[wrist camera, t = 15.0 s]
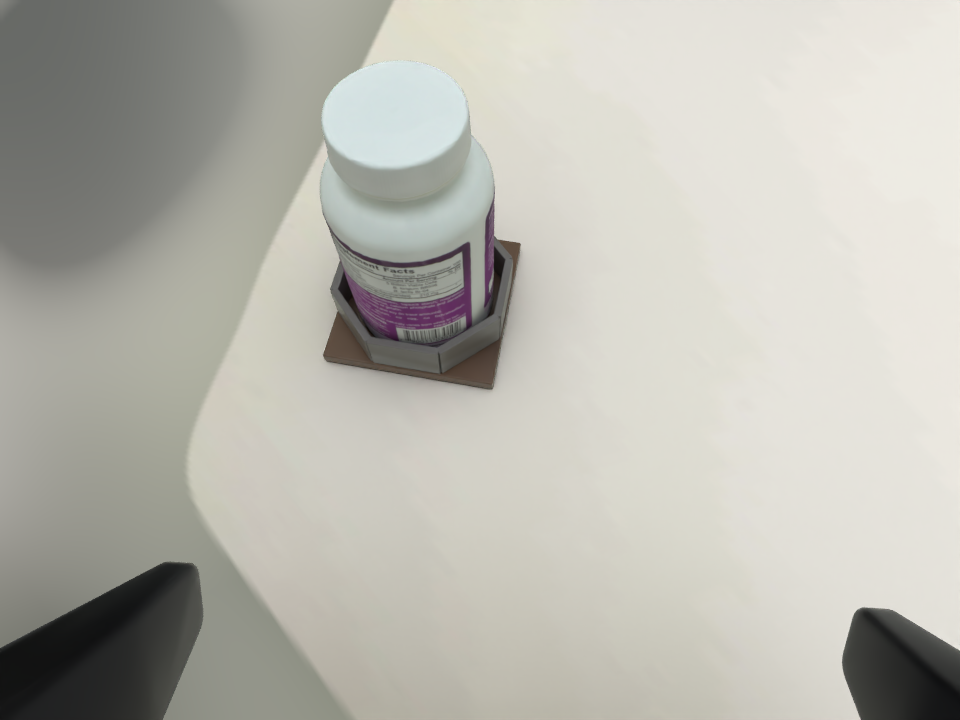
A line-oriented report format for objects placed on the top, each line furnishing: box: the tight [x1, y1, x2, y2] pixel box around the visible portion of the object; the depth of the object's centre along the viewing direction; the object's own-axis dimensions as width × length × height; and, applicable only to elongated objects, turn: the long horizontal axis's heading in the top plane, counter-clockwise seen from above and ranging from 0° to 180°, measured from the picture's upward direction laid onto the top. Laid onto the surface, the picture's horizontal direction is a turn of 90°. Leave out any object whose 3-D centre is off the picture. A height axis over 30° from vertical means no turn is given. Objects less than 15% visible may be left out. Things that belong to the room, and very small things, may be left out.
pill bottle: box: [320, 61, 495, 348], centre depth 22 cm, size 5×5×10 cm
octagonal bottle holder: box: [323, 236, 521, 389], centre depth 26 cm, size 7×7×2 cm
